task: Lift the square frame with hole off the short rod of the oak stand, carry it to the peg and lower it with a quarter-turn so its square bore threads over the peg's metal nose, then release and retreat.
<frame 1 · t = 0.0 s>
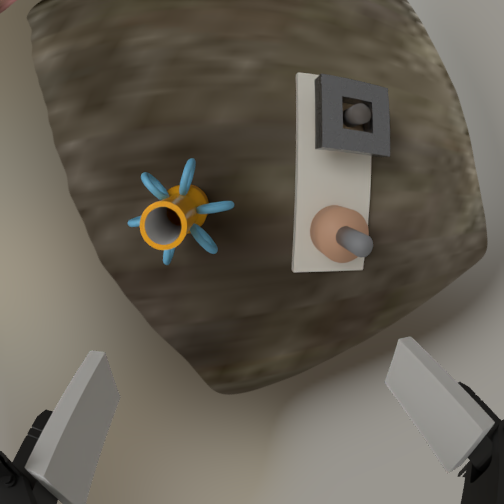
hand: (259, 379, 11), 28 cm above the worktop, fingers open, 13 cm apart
board: (333, 172, 37), on the worktop
stand: (333, 124, 35), resting on board
tube with blue rings: (186, 206, 36), on the worktop
peg: (330, 228, 39), resting on board
square frame with hole: (349, 118, 30), point 5 cm above the worktop, touching stand
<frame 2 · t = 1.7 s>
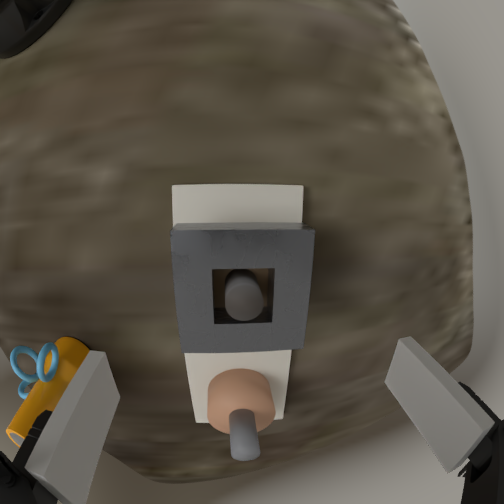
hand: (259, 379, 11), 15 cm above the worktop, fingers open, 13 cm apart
board: (237, 327, 27), on the worktop
stand: (237, 261, 25), resting on board
tube with blue rings: (76, 355, 27), on the worktop
peg: (238, 384, 30), resting on board
square frame with hole: (240, 283, 20), point 5 cm above the worktop, touching stand
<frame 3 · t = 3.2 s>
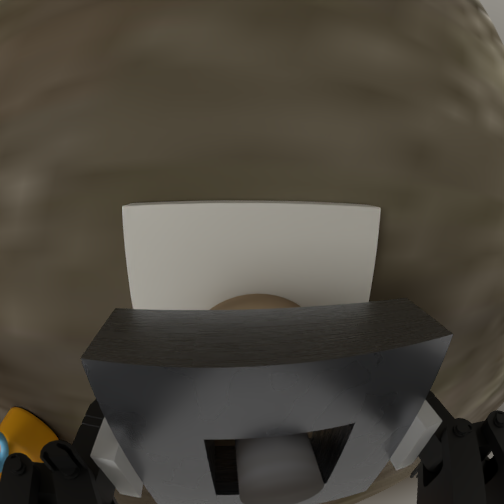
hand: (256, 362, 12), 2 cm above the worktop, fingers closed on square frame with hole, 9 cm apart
board: (250, 424, 16), on the worktop
stand: (252, 340, 14), resting on board
tube with blue rings: (36, 426, 15), on the worktop
square frame with hole: (266, 415, 9), point 5 cm above the worktop, touching gripper, stand
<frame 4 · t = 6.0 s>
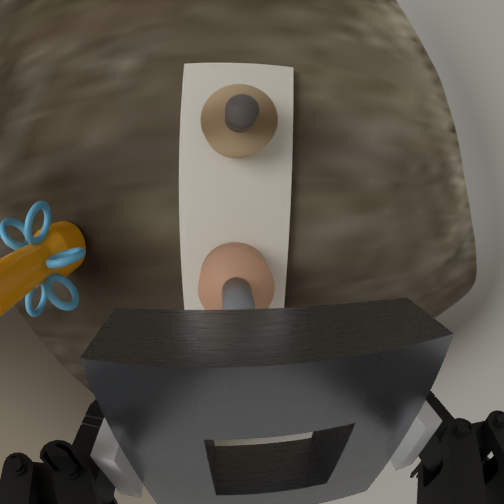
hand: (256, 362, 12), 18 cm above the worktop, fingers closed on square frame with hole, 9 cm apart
board: (234, 196, 28), on the worktop
stand: (236, 128, 26), resting on board
tube with blue rings: (67, 244, 27), on the worktop
peg: (234, 270, 30), resting on board
square frame with hole: (266, 415, 9), point 22 cm above the worktop, touching gripper
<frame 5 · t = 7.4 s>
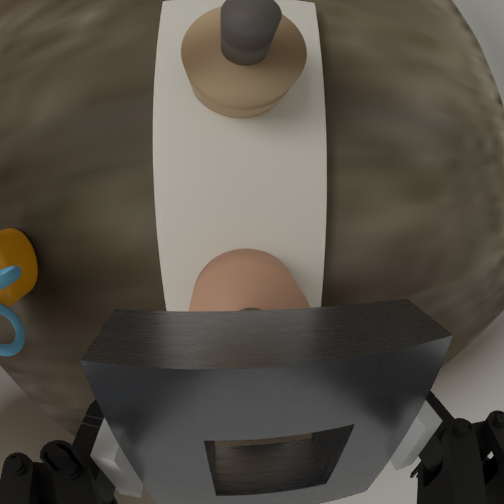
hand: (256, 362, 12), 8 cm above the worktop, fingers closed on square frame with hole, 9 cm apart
board: (240, 177, 18), on the worktop
stand: (239, 78, 16), resting on board
tube with blue rings: (17, 260, 18), on the worktop
peg: (243, 291, 20), resting on board
square frame with hole: (266, 416, 9), point 12 cm above the worktop, touching gripper
when the fingers open (4 cm above the worktop, at t = 8.7 s): square frame with hole drops 3 cm, resting on peg.
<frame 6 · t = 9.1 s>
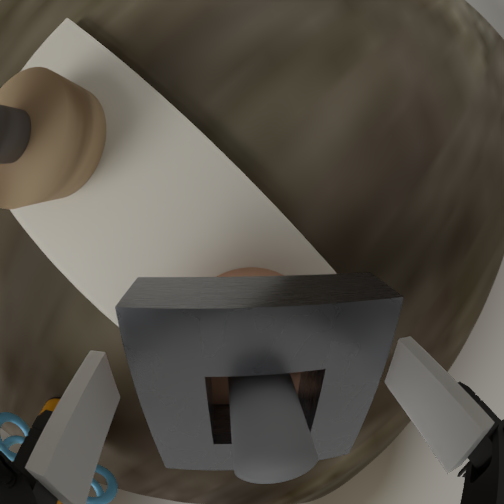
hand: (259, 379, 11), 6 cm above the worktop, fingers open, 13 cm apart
board: (144, 223, 14), on the worktop
stand: (68, 143, 12), resting on board
tube with blue rings: (73, 418, 18), on the worktop
peg: (247, 316, 16), resting on board
square frame with hole: (256, 372, 11), point 5 cm above the worktop, touching peg
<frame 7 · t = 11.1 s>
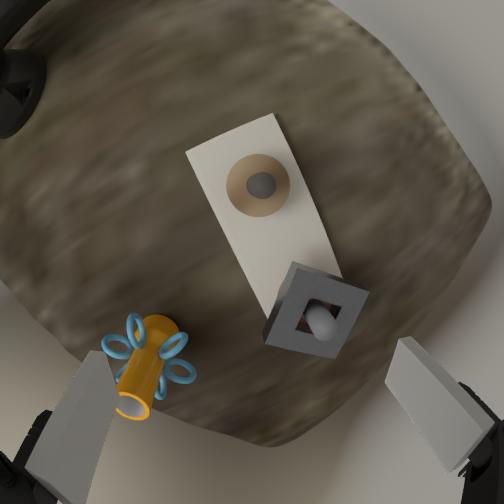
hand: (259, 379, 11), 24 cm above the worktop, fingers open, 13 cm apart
board: (278, 237, 34), on the worktop
stand: (254, 185, 32), resting on board
tube with blue rings: (159, 331, 36), on the worktop
peg: (302, 292, 36), resting on board
square frame with hole: (312, 308, 31), point 5 cm above the worktop, touching peg
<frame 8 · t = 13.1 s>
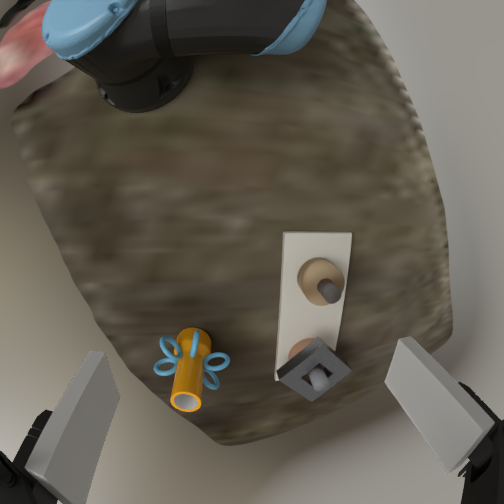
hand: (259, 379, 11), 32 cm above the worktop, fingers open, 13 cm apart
board: (310, 312, 46), on the worktop
stand: (314, 274, 44), resting on board
tube with blue rings: (193, 340, 46), on the worktop
peg: (305, 350, 48), resting on board
square frame with hole: (313, 366, 43), point 5 cm above the worktop, touching peg
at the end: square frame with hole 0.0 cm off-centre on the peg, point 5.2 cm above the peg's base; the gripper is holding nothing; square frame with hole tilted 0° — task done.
